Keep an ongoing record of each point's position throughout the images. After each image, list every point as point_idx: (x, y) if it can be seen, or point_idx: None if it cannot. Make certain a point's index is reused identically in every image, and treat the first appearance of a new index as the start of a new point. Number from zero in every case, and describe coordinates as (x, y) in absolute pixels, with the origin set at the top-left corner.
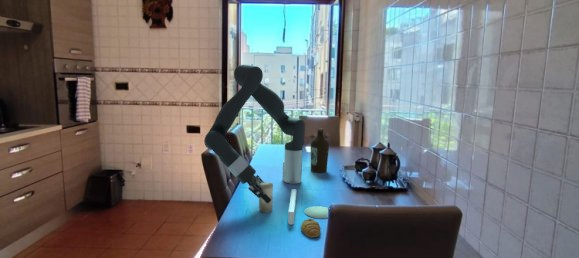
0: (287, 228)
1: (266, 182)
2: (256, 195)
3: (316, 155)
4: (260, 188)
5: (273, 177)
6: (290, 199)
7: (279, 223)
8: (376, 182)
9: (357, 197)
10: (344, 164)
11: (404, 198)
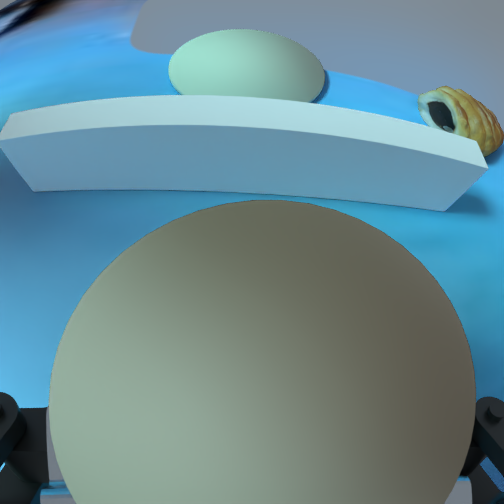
0: (478, 217)
1: (75, 422)
2: (484, 480)
3: None
4: (457, 492)
5: None
6: (249, 125)
7: (449, 259)
8: (6, 8)
9: (89, 3)
10: None
11: None
